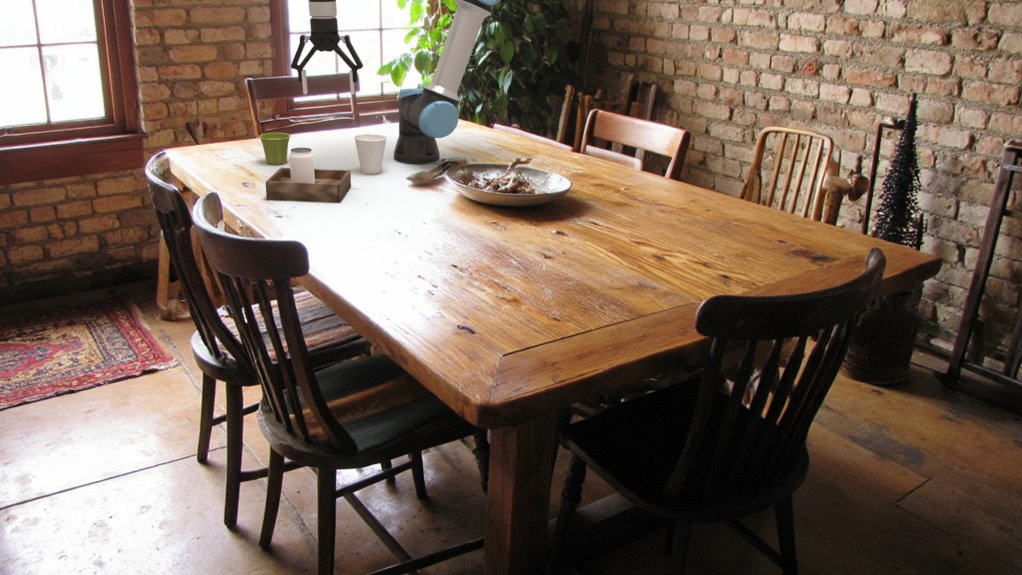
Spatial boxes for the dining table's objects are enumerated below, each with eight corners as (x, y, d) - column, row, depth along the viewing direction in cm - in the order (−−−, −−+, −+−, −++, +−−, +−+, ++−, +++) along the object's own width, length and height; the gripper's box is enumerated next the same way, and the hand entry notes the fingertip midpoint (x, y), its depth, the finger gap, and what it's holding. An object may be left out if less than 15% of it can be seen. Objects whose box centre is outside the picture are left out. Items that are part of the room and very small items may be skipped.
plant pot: (287, 167, 263) (285, 139, 259) (257, 165, 263) (255, 138, 259) (295, 160, 271) (293, 133, 268) (266, 158, 271) (264, 132, 268)
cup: (390, 169, 265) (390, 134, 261) (383, 177, 256) (382, 141, 252) (359, 167, 266) (358, 132, 262) (351, 175, 257) (349, 139, 252)
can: (309, 196, 233) (307, 153, 228) (287, 193, 234) (284, 151, 230) (318, 190, 239) (317, 148, 234) (297, 188, 240) (295, 146, 235)
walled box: (351, 187, 244) (350, 170, 242) (340, 202, 229) (339, 184, 227) (281, 184, 244) (280, 167, 242) (266, 199, 229) (265, 181, 227)
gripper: (369, 16, 240) (373, 91, 249) (281, 15, 239) (288, 91, 248) (366, 18, 233) (370, 95, 242) (275, 18, 233) (283, 95, 241)
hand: (329, 93), depth 245 cm, fingers open, 13 cm apart
